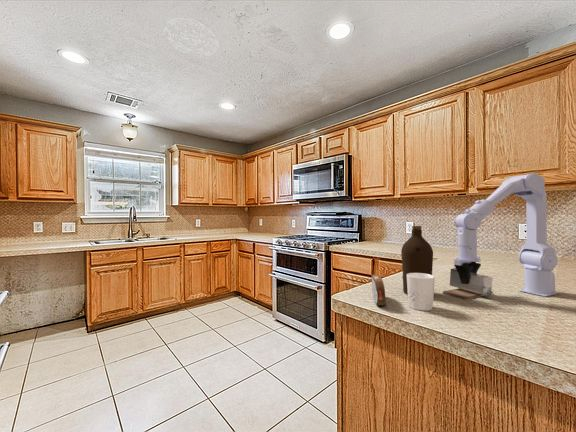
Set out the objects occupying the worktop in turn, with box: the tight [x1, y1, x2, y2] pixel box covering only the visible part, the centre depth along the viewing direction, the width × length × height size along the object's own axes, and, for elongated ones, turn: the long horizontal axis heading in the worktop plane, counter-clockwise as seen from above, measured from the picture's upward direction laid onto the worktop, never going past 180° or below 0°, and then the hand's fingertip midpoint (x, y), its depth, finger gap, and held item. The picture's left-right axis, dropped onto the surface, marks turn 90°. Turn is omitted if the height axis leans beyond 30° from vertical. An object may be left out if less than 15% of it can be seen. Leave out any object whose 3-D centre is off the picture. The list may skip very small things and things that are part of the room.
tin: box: [370, 274, 387, 307], centre depth 89 cm, size 15×3×8 cm, turn 168°
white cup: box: [407, 273, 435, 312], centre depth 83 cm, size 8×8×10 cm
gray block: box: [449, 267, 493, 296], centre depth 96 cm, size 4×13×6 cm, turn 31°
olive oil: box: [400, 225, 434, 295], centre depth 98 cm, size 11×11×25 cm
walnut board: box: [442, 288, 493, 300], centre depth 97 cm, size 16×8×1 cm, turn 115°
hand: (467, 283), depth 97 cm, fingers closed on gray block, 3 cm apart
